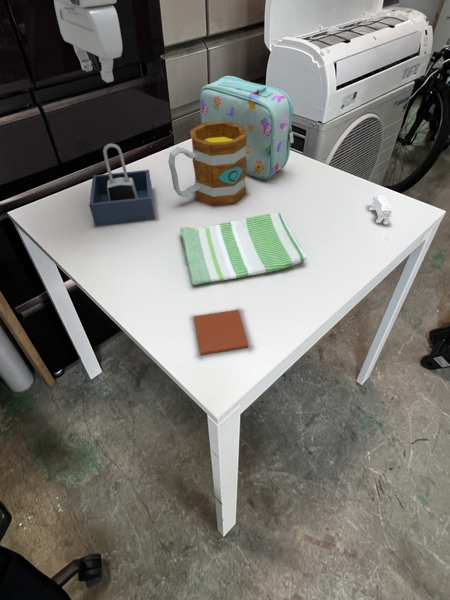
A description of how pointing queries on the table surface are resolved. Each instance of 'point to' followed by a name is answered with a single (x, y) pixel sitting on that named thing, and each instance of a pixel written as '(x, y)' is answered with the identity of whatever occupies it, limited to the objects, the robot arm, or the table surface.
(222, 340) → the mat
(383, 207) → the figurine
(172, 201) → the table surface
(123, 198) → the padlock
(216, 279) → the dish towel
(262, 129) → the lunch box
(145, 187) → the basket
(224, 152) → the mug
